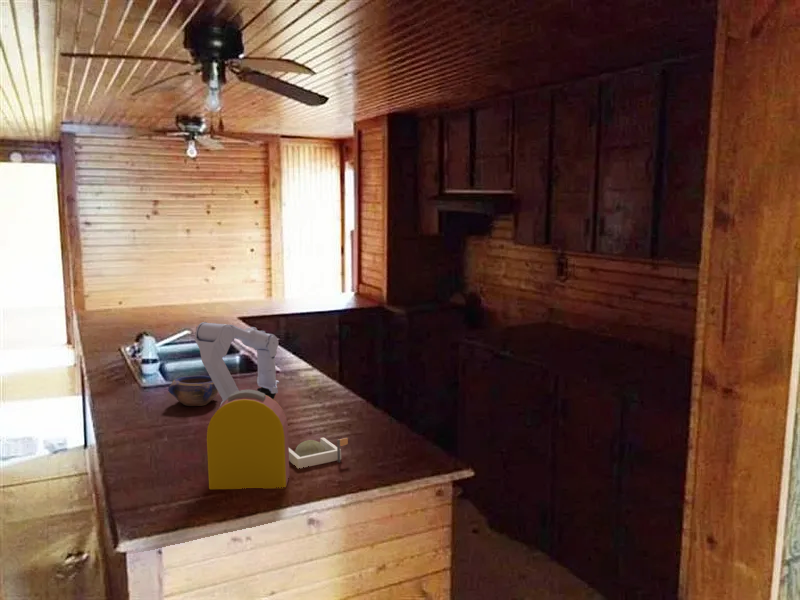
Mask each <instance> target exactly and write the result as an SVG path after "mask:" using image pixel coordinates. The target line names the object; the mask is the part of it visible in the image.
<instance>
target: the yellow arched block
mask: <svg viewBox="0 0 800 600" xmlns="http://www.w3.org/2000/svg"><path fill="white" fill-rule="evenodd" d="M220 405H221V404H220ZM220 405H219V408H217V410H216V411H215V413H214V414H213V415H212V417H211V418H210V420H209V423H208V425H207V430H206V431H207V432H206V449H207V451H206V453H207V471H208V473H207V474H208V489H209V490H246V488H263V489H284V488H283V487H285V488H287V485H288V482H289V479H290V461H289V448H290V446H289V425H288V418H287V416H286V413H285V411H284V409H283V408H282V407H281V405H280V404H279V403H278V401H276V400H275V399H274V400H273V399H272V398H270V397H269V396H267V395H265V394H264V393H262V392H259V391H258V390H254V389H248V388H247V389H241V390H239V391H237V392H235V393H232V394H231V395H230V396H229V397H228V399H227V400H226V401H224V402H223V403H222V405H221V406H220ZM288 478H289V479H288ZM276 487H277V488H276ZM278 487H279V488H278ZM281 487H282V488H281ZM242 488H243V489H242ZM244 488H245V489H244Z"/></svg>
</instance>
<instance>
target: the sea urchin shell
mask: <svg viewBox="0 0 800 600" xmlns="http://www.w3.org/2000/svg"><path fill="white" fill-rule="evenodd" d="M294 452H295V453H296V454H297V455H298V456H300V457H302V456H307V455H312V454H317V453H321V452H326V451H325V448H324V446H323V444H322V443H321V442H320V441H317V440H314V439H308V440H307V439H306V440H304V441H302V442H300V443H299V444H298V445H297V446H296V447H295V450H294Z"/></svg>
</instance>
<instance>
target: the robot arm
mask: <svg viewBox="0 0 800 600" xmlns="http://www.w3.org/2000/svg"><path fill="white" fill-rule="evenodd" d="M277 337H278V336H276V334H273V333H266V330H258V328H257V327H255V326H250V327H247V328H246V329H243V328H241V327H239V326H236V325H234V324H226V323H217V322H216V323H215V322H206V321H204V322H200V323H199V324H198V325H197V327H196V331H195V335H194V338H193V339H194V341H195V343H196V345H197V347H198V350H199V353H200V354H199V355H200V360H201V361H202V364H203V367H204V368H205V370H206V372H207V373H208V376H210V377H211V379H212V381H213V383H214V385H215V387H216V388H217V390H218V394H219V395H220V396H219V397H221V400H222V401H221V402H220V405H219V407H220V406H221V405H222V403H223V402H224V401H226V400H227V399H228V397H229V396H230V395H231V394H232V393H235V392H237V391H240V390H239V388H238V386H237V384H236V382H235V380H234V378H233V376H232V375H231V372H230V371H229V368H228V366H227V365H226V363H225V361H224V358H223V357H225V356H227V354H228V352H229V349H230V348H231V345H232V342H233V341H235V340H240V341H241V343H242V344H243V345H244V346H246V347H250V348H253V349H254V350H255V351H256V355H257V356H256V357H257V358H256V359H257V361H256V362H257V377H256V384H257V386H258V388H257V390H256V391H259V392H262V393H264V394H265V395H267V396H269V397H270V398H272V399H273V400H275V396H276V394H278V393H279V387H278V386H277V384H280V381H279V380H277V379H276V377H277V375H276V373H277V372H276V356H277V354H278V353H277V350H278V347H279V340H278V338H277Z"/></svg>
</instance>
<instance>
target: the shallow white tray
mask: <svg viewBox="0 0 800 600" xmlns="http://www.w3.org/2000/svg"><path fill="white" fill-rule="evenodd" d="M348 441H349V439H348V437H344V438H340V439H337V441H336V445H337V446H336V445H335V444H333V443H332V442H330V440H328V439H327V438H325V437H320V441H319V442H321V443H322V444H323V446H324V448H325V452H321V453H317V454H312V455H307V456H302V457H300V456H298V455H297V454H296V453H295V450H293V449H292V448H290V447H289V463H291V464H292V465H293V466H294V465H295V466H296V467H295V466H294V467H295V468H297V469H298V470H300V469H304V468H309V467H312V466H317V465H322V464H327V463H331V462H335V461H337V463H341V460H342V449H341V447H342V446H346V445H348V443H349V442H348ZM308 466H309V467H308ZM303 467H304V468H303ZM299 468H300V469H299Z"/></svg>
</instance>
